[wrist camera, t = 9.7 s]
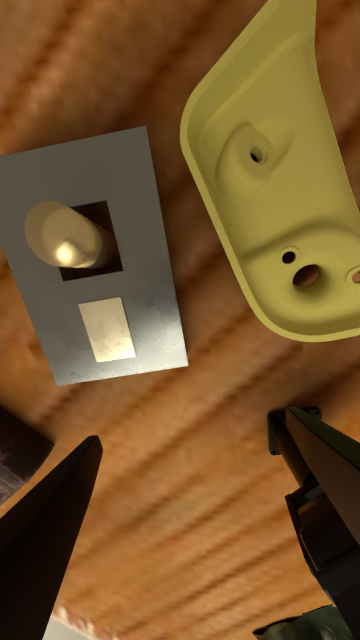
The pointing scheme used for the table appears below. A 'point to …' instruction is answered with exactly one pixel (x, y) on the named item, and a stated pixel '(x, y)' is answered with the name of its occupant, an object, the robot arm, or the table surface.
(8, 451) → the diary
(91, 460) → the robot arm
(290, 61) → the plastic component
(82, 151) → the flange plate
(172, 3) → the table surface
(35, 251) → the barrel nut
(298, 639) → the rose bouquet
